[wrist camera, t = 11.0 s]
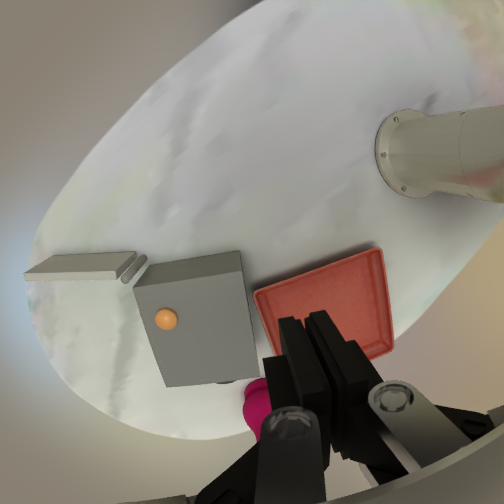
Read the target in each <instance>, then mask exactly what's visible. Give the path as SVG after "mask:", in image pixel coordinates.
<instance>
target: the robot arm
mask: <svg viewBox="0 0 504 504" xmlns="http://www.w3.org/2000/svg"><path fill="white" fill-rule="evenodd" d="M393 119H394V120H393ZM375 152H376V160H377V164H378V167H379V170H380V172H381V175H382V176H383V178H384V179H385V181H386V182H387V184H388V185H389V186H390V187H391V188H392V189H393V190H395V191H396V192H397V193H399V194H401V195H403V196H407V197H412V198H421V197H425V196H428V195H430V194H431V193H433V192H434V191H441V192H446V193H451V194H456V195H461V196H466V197H471V198H476V199H480V200H485V201H490V202H495V203H504V105H501V106H495V107H488V108H480V109H473V110H466V111H459V112H453V113H446V114H440V115H434V116H429V117H428V116H427V115H425V114H424V113H422V112H419V111H416V110H402V111H398V112H396V113H393V114H391V115H390V116H389V117H388V118H387V119H386V120H385V121H384V122H383V123H382V125H381V127H380V129H379V131H378V134H377V138H376V146H375ZM381 154H382V157H381ZM401 187H402V189H401ZM304 325H305V328H304V326H303V324H302V321H301V319H295V318H294V316H289V317H284V318H278V328H279V335H280V343H281V351H282V355H279V356H274V357H268V358H263V364H264V370H265V376H266V382H267V388H268V394H269V399H270V405H271V410H272V412H271V413H269V414H268V415H267V416H266V417H265V418H264V420H263V422H262V425H261V431H260V440H259V441H258V442H257V443H256V444H255V445H254V446H253V447H252V448H251V449H249V450H248V451H247V452H246V453H245V454H244V455H243V456H242V457H241V458H239V459H238V460H237V461H236V462H235V463H234V464H233V465H231V466H230V467H229V468H228V469H227V470H226V471H224V472H223V473H222V474H221V475H220V476H219V477H217V478H216V479H215V480H213V481H212V482H211V483H210V484H209V485H207V486H206V487H205V488H204V489H202V490H201V492H200V493H199V494H198V495H195V496H190V497H186V495H179V496H173V497H167V498H160V499H153V500H146V501H137V502H126V503H119V504H504V405H503V406H500V407H497V408H495V409H492V410H489V411H487V412H486V415H484V414H481V413H478V412H473V411H467V410H461V409H454V408H449V407H444V406H438V405H434V404H432V403H431V402H430V401H429V400H428V399H427V398H426V397H425V396H424V395H423V394H422V393H420V392H419V391H418V390H417V389H416V388H415V387H414V386H412V385H411V384H409V383H407V382H404V381H398V380H391V381H386V382H384V381H383V380H382V378H381V377H380V375H379V374H378V372H377V371H376V369H375V368H374V366H373V365H372V363H371V362H370V360H369V359H368V358H367V356H366V355H365V353H364V352H363V350H362V349H361V347H360V346H359V344H358V343H357V342H356V341H355V340H350V341H345V339H344V338H343V336H342V335H341V333H340V332H339V330H338V328H337V327H336V325H335V324H334V322H333V321H332V319H331V318H330V316H329V314H328V313H327V311H326V310H320V311H315V312H310V313H309V317H306V318H304ZM330 444H331V445H332V448H333V451H334V452H335V453H337V452H340V453H341V456H342V459H343V460H344V459H348V458H350V460H353V461H357V462H359V467H360V469H361V471H362V472H363V474H364V476H365V477H366V479H367V480H368V482H369V483H370V485H371V486H372V488H371V489H368V490H365V491H362V492H359V493H355V494H352V495H349V496H345V497H341V498H338V499H334V500H330V501H327V500H326V489H325V477H324V471H325V470H326V469H327V467H328V466H329V462H330V446H331V445H330Z"/></svg>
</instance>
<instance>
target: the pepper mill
mask: <svg viewBox="0 0 504 504" xmlns="http://www.w3.org/2000/svg"><path fill="white" fill-rule="evenodd" d="M271 412H272V410H271V405H270V399H269V394H268V388H267V382H266V378H263V379H258V380H255V381H253V382H252V383H250V384H249V385H248V386H247V388H246V389H245V403H244V405H243V415H244V419H245V421H246V423H247V425H248V426H249V427H250V428H251V430H252V431H253V432H254V434H255V436H256V440H257V442H258V441H259V440H260V431H261V425H262V422H263V420H264V418H265V417H266V416H267V415H268V414H269V413H271Z"/></svg>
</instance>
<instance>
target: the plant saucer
mask: <svg viewBox="0 0 504 504" xmlns="http://www.w3.org/2000/svg"><path fill="white" fill-rule="evenodd" d="M253 299H254V302H255V305H256V307H257V310H258V313H259V315H260V318H261V321H262V323H263V326H264V329H265V331H266V334H267V337H268V339H269V342H270V345H271V347H272V350H273V353H274V356H279V355H282V351H281V343H280V335H279V328H278V318H284V317H289V316H294V318H295V319H301V321H302V324H303V326H304V328H305V325H304V318H306V317H309V313H310V312H315V311H320V310H326V311H327V313H328V314H329V316H330V318H331V319H332V321H333V322H334V324H335V325H336V327H337V328H338V330H339V332H340V333H341V335H342V336H343V338H344V339H345V341H350V340H355V341H356V342H357V343H358V344H359V346H360V347H361V349H362V350H363V352H364V353H365V355H366V356H367V358H368V359H369V360H370V361H371V360H374V359H376V358H378V357H381V356H383V355H385V354H387V353H389V352H391V351H392V350H393V349H394V333H393V324H392V315H391V305H390V298H389V291H388V283H387V276H386V270H385V264H384V258H383V252H382V249H381V248H380V247H375V248H372V249H369V250H367V251H364V252H361V253H358V254H356V255H353V256H350V257H347V258H345V259H342V260H339V261H337V262H334V263H331V264H328V265H326V266H323V267H320V268H318V269H315V270H312V271H309V272H307V273H304V274H301V275H298V276H295V277H293V278H290V279H287V280H284V281H281V282H278V283H275V284H272V285H269V286H266V287H263V288H260V289H257V290H256V291H254V293H253Z"/></svg>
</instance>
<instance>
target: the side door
mask: <svg viewBox="0 0 504 504" xmlns="http://www.w3.org/2000/svg"><path fill="white" fill-rule="evenodd" d="M135 260H136V253H135V252H117V253H98V254H79V255H61V256H51V257H50V258H48V259H46V260H45V261H43V262H41V263H40V264H38V265H36V266H35V267H33V268H31V269H30V270H28V271H27V272H25V273H24V279H25V281H77V280H117V279H118V278H119V277H120V276H121V275H122V273H123V272H124V271H125V270H126V269H127V268H128V267H129V266H130V265H131V264H132V263H133V262H134V261H135ZM146 261H147V257H146V256H145V255H141V256H140V257H139V258H138V259H137V260H136V261H135V262H134V263H133V265H132V266H131V267H130V268H129V269H128V270H127V271H126V272H125V273H124V274H123V275H122V276H121V281H122V283H124V284H127V283H128V282H129V281H130V280H131V279H132V277H133V276H134V275H135V274H136V273H137V271H138V270H139V269H140V268H141V267H142V265H143V264H144V263H145V262H146Z"/></svg>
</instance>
